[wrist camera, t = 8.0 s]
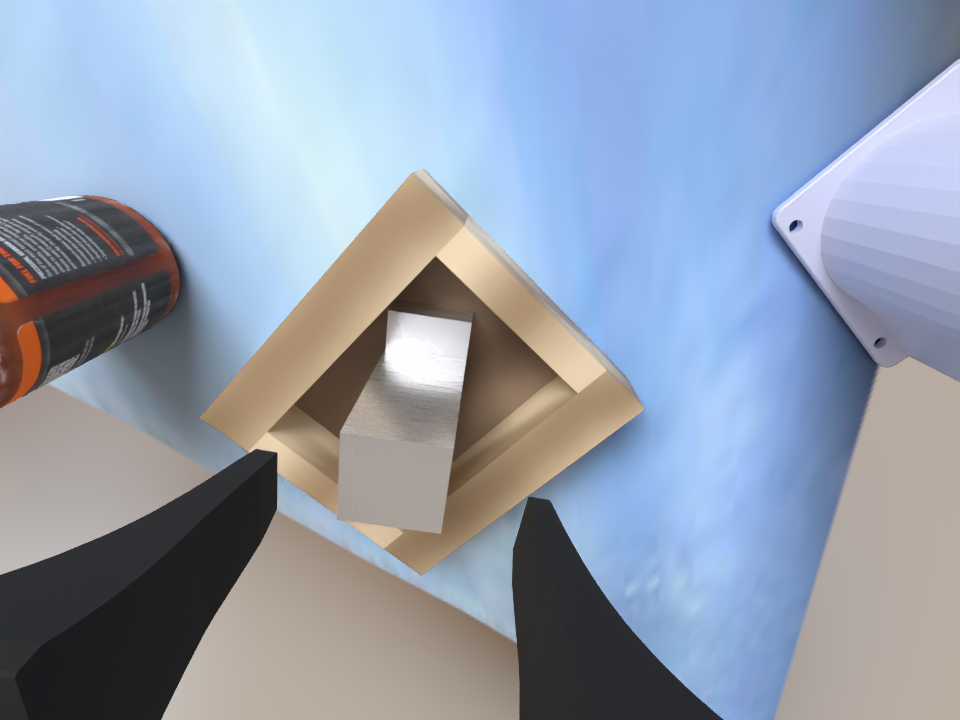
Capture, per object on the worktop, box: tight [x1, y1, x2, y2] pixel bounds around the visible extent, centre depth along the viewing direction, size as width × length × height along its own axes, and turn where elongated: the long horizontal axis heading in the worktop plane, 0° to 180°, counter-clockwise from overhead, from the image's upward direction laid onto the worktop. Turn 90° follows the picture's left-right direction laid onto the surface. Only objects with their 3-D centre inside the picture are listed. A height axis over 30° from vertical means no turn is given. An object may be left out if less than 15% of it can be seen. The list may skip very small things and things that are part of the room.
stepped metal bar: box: [337, 300, 473, 534], centre depth 19 cm, size 4×7×8 cm, turn 171°
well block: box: [200, 169, 645, 575], centre depth 22 cm, size 13×14×3 cm
